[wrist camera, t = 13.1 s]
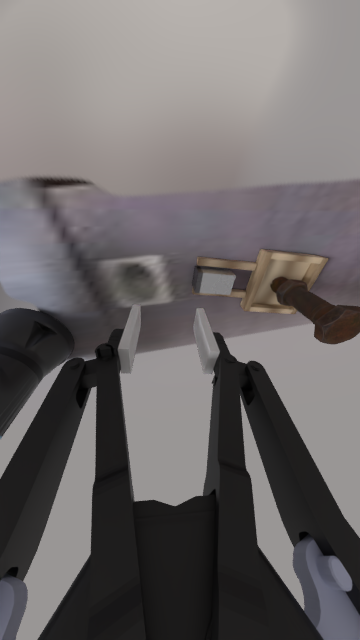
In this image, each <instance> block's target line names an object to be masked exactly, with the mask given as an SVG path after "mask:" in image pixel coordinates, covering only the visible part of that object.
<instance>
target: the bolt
mask: <svg viewBox="0 0 360 640" xmlns="http://www.w3.org/2000/svg"><path fill="white" fill-rule="evenodd" d="M270 287H271V289H272V291H273V292H275V293H276V297H277V301H278V302H279V303H280V304H281V305H285V306H293V307H294V308H295V309H296V310H298V311H299V312H300V313H302V314H303V315H304V316H305V317H307V318H308V319H310V320H311V321H312V322H313V324H315V332H314V337H315V338H316V339H318V340H319V341H320V342H323V343H327V344H338V343H341V342H344V341H347V340H350V339H352V338H353V337H355V336H356V335H357V334H358V333H359V332H360V307H358V306H345V305H337V306H335V305H332V304H330V303H328V302H326V301H325V300H323V299H321V298H320V297H318V296H316V295H314V294H313V293H311V292H309V291H308V287H307V283H305V282H303V281H301V280H295V279H290V280H289V279H287V278H285V277H277V278H275V279H274V280H273V281H272V284H270Z"/></svg>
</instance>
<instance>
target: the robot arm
mask: <svg viewBox="0 0 360 640" xmlns="http://www.w3.org/2000/svg"><path fill="white" fill-rule="evenodd" d="M140 328H141V308H140V305H139V304H133V306H132V309H131V311H130V314H129V317H128V320H127V323H126V326H125V329H115V330H114V331H113V332H112V333H111V336H110V338H109V340H108V343H105V344H101V345H99V346H98V347H97V348H96V350H95V353H96V357H97V358H96V359H93V360H89V361H84V359H82V358H73V359H71V360H69V361H67V362H66V363H65V364H64V366H63V367H62V369H61V371H60V373H59V374H58V376H57V378H56V380H55V382H54V383H53V385H52V387H51V389H50V390H49V392H48V394H47V396H46V398H45V399H44V402H43V403H42V405H41V407H40V409H39V410H38V412H37V414H36V416H35V418H34V420H33V421H32V423H31V425H30V427H29V428H28V430H27V432H26V434H25V436H24V437H23V439H22V441H21V443H20V445H19V446H18V448H17V450H16V452H15V453H14V455H13V457H12V459H11V461H10V462H9V464H8V466H7V468H6V470H5V472H4V473H3V475H2V477H1V479H0V640H15V639H16V634H17V632H18V629H19V626H20V623H21V620H22V617H23V615H24V612H25V609H26V604H27V587H26V584H25V583H24V582H23V580H24V578H25V576H26V574H27V572H28V570H29V567H30V565H31V563H32V560H33V558H34V556H35V554H36V551H37V549H38V546H39V543H40V540H41V538H42V535H43V532H44V529H45V527H46V524H47V521H48V518H49V515H50V511H51V509H52V505H53V502H54V499H55V496H56V493H57V490H58V487H59V484H60V481H61V478H62V475H63V472H64V469H65V466H66V463H67V460H68V457H69V454H70V451H71V448H72V445H73V442H74V439H75V436H76V433H77V430H78V427H79V424H80V421H81V418H82V415H83V412H84V409H85V406H86V403H87V400H88V397H89V394H90V391H91V388H92V387H96V386H97V399H96V400H97V401H96V403H97V405H96V468H95V474H96V475H95V482H94V485H93V493H92V494H93V495H92V529H91V531H92V532H91V555H90V556H89V558H88V560H87V561H86V563H85V564H84V566H83V568H82V569H81V571H80V572H79V574H78V575H77V577H76V579H75V580H74V582H73V583H72V585H71V587H70V589H69V590H68V592H67V593H66V595H65V596H64V598H63V600H62V601H61V603H60V605H59V606H58V608H57V609H56V611H55V612H54V614H53V616H52V618H51V619H50V620H49V622H48V624H47V625H46V627H45V629H44V630H43V632H42V633H41V635H40V637H39V638H38V640H360V538H359V537H358V535H357V534H356V533H355V531H354V530H353V529H352V527H351V526H350V525H349V523H348V522H347V521H346V519H345V518H344V516H343V515H342V513H341V511H340V509H339V507H338V505H337V503H336V501H335V500H334V498H333V496H332V494H331V492H330V490H329V489H328V487H327V485H326V483H325V481H324V479H323V477H322V475H321V473H320V472H319V470H318V468H317V466H316V464H315V462H314V460H313V459H312V457H311V455H310V453H309V451H308V449H307V448H306V445H305V444H304V442H303V440H302V438H301V436H300V434H299V432H298V431H297V429H296V427H295V425H294V423H293V421H292V420H291V417H290V416H289V414H288V412H287V410H286V408H285V406H284V404H283V402H282V401H281V399H280V397H279V395H278V393H277V391H276V389H275V388H274V386H273V384H272V382H271V380H270V378H269V376H268V374H267V373H266V371H265V369H264V368H263V366H262V365H261V364H260V363H258V362H256V361H250V362H248V363H247V364H245V363H242V362H238V361H237V359H236V358H235V357H234V356H232V355H231V354H230V352H229V350H228V348H227V345H226V344H225V341H224V339H223V336H222V335H221V334H220V333H215V332H212V329H211V327H210V324H209V321H208V319H207V316H206V313H205V311H204V308H197V310H196V315H195V320H194V325H193V330H194V334H195V339H196V343H197V347H198V352H199V356H200V360H201V365H202V369H203V373H204V374H212V372H213V370H214V373H215V376H214V378H213V381H212V383H213V395H212V407H211V420H210V433H209V446H208V447H209V448H208V460H207V472H206V479H205V483H204V490H203V496H196V497H193V498H191V499H189V500H188V501H185V502H184V503H182V504H180V505H178V506H172V505H168V504H165V503H162V502H158V501H156V500H148V501H136V502H134V494H133V486H132V479H131V471H130V461H129V452H128V444H127V435H126V426H125V418H124V409H123V400H122V391H121V383H120V375H119V374H120V370H121V373H131V370H132V366H133V361H134V356H135V352H136V347H137V342H138V337H139V333H140ZM73 348H74V340H73V337H72V335H71V333H70V332H69V331H68V329H67V328H66V327H65V326H64V325H63V324H61V323H60V322H59V321H57V320H56V319H54V318H53V317H51V316H49V315H47V314H44V313H42V312H39V311H35V310H31V309H23V308H15V309H9V310H6V311H4V312H2V313H0V439H1V438H2V436H3V434H4V433H5V432H6V430H7V429H8V427H9V426H10V424H11V423H12V422H13V420H14V419H15V417H16V416H17V414H18V413H19V411H20V410H21V408H22V407H23V406H24V404H25V403H26V402H27V400H28V398H29V397H30V396H31V394H32V393H33V391H34V390H35V389H36V387H37V386H38V384H39V383H40V381H41V380H42V379H43V378H44V377H45V376H46V375H47V374H48V373H50V372H51V371H52V370H53V369H54V368H56V367H57V366H58V365H60V364H62V363H63V362H64V361H65V360H66V359H67V358H68V357H69V355H70V354H71V352H72V351H73ZM240 396H241V398H242V401H243V405H244V408H245V411H246V414H247V417H248V420H249V423H250V426H251V429H252V432H253V435H254V438H255V441H256V444H257V447H258V450H259V453H260V456H261V459H262V462H263V465H264V468H265V472H266V475H267V478H268V481H269V484H270V487H271V490H272V493H273V496H274V499H275V502H276V505H277V508H278V510H279V513H280V516H281V519H282V521H283V524H284V526H285V528H286V531H287V533H288V536H289V538H290V540H291V542H292V544H293V546H294V552H293V568H294V571H295V573H296V575H297V577H298V579H299V581H300V583H301V586H302V590H303V595H304V605H305V608H304V611H303V609H302V608H301V606H300V605H299V603H298V602H297V601H296V599H295V598H294V596H293V595H292V594H291V592H290V591H289V589H288V588H287V586H286V585H285V584H284V582H283V581H282V579H281V578H280V576H279V575H278V574H277V572H276V571H275V569H274V568H273V567H272V565H271V564H270V562H269V561H268V559H267V558H266V556H265V555H264V554H263V552H262V551H261V549H260V548H259V547H258V545H257V536H256V525H255V514H254V504H253V494H252V484H251V478H250V475H249V473H248V472H247V470H246V466H245V454H244V441H243V428H242V416H241V403H240Z"/></svg>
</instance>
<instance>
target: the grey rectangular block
mask: <svg viewBox="0 0 360 640" xmlns="http://www.w3.org/2000/svg"><path fill="white" fill-rule="evenodd" d="M235 277H236V275H235V274H234V273H233V272H232V271H231V270H230V269H222V268H211V267H201V266H195V270H194V276H193V282H192V286H193V289H194V292H195V293H208V294H222V295H230V293H231V290H232V287H233V284H234V280H235Z"/></svg>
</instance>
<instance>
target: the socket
mask: <svg viewBox="0 0 360 640" xmlns="http://www.w3.org/2000/svg"><path fill="white" fill-rule="evenodd" d="M327 260H328V258H325V257H322V256H318V255H311V254H302V253H293V252H284V251H275V250H266V249H260V251H259V254H258V257H257V260H256V262H247V261H237V260H227V259H217V258H207V257H198V258H197V265H199V266H210V267H221V268H232V269H243V270H253V271H252V273H251V276H250V279H249V282H248V284H247V287H246V290H238V289H232V290H231V293H230V295H222V294H208V293H195V292H194V289H193V288H192V293H193V294H197V295H211V296H226V297H240V298H242V301H241V304H240V306H241V307H242V308H243V310H244V311H252V312H269V313H286V314H295V313H296V312H297V310H296V309H295V308H294V307H293V306H285V305H281V304H280V303H279V302H278V301H277V297H276V293H275V292H273V291H272V289H271V287H270V284H272V281H273V280H274V279H275V278H277V277H285V278H287V279H289V280H290V279H295V280H301V281H303V282H305V283H307V287H308V291H309V290H310V289H311V287H312V285H313V284H314V282H315V280H316V279H317V277H318V275H319V274H320V272H321V270H322V269H323V267H324V265H325V264H326V262H327Z"/></svg>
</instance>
